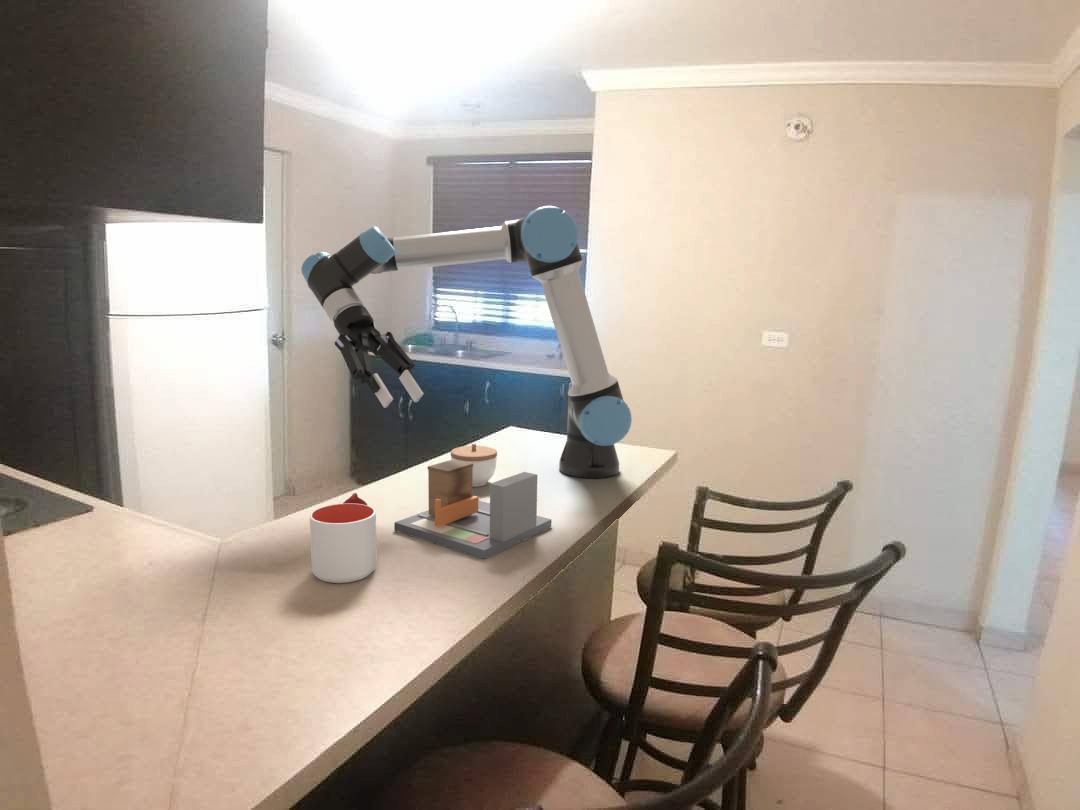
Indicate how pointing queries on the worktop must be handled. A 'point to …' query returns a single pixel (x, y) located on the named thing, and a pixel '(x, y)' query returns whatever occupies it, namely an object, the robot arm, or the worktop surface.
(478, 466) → the lidded jar
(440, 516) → the orange bracket
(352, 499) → the onion
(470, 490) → the brown rectangular block
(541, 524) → the base
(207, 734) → the worktop surface
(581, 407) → the robot arm
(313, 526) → the cup
